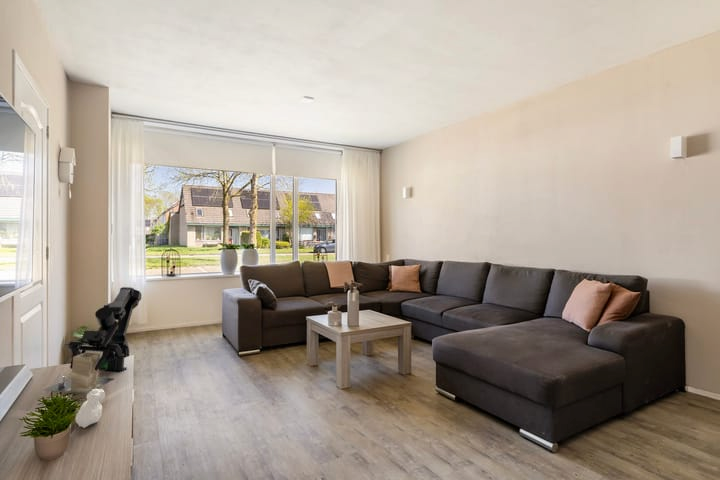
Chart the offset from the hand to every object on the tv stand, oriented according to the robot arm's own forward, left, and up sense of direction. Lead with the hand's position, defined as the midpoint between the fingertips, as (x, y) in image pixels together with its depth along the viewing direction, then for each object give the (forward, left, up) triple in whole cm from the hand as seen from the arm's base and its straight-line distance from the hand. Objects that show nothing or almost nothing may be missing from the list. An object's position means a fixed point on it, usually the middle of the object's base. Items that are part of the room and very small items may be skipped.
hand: (83, 369), depth 148 cm
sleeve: (-1, 0, -7) cm, 7 cm away
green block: (-28, -14, -9) cm, 33 cm away
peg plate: (-5, -4, -9) cm, 11 cm away
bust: (+21, +19, -9) cm, 29 cm away
